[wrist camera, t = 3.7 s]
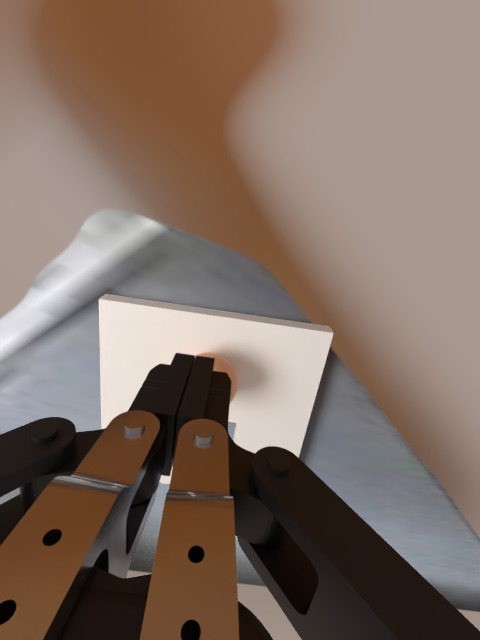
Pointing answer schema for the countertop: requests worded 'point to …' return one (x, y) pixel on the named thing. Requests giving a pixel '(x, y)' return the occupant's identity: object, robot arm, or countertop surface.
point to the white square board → (228, 341)
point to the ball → (224, 370)
